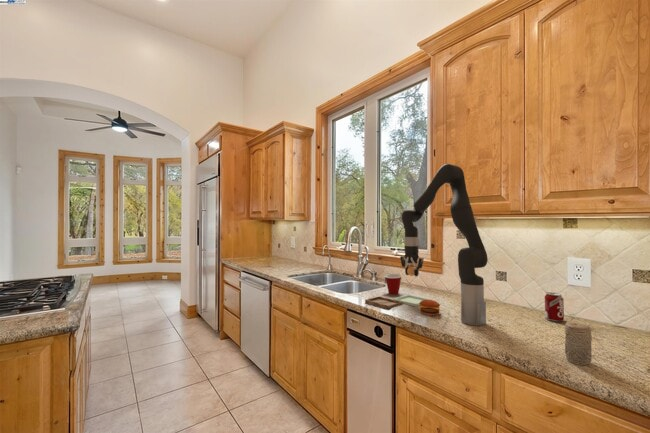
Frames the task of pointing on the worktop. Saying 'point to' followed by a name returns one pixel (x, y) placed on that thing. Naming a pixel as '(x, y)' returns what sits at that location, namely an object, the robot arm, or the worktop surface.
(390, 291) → the plastic cup
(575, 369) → the worktop surface
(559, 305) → the soda can
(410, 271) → the ball
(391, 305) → the tray
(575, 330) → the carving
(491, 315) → the worktop surface
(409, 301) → the dish
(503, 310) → the worktop surface
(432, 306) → the hamburger
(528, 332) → the worktop surface
